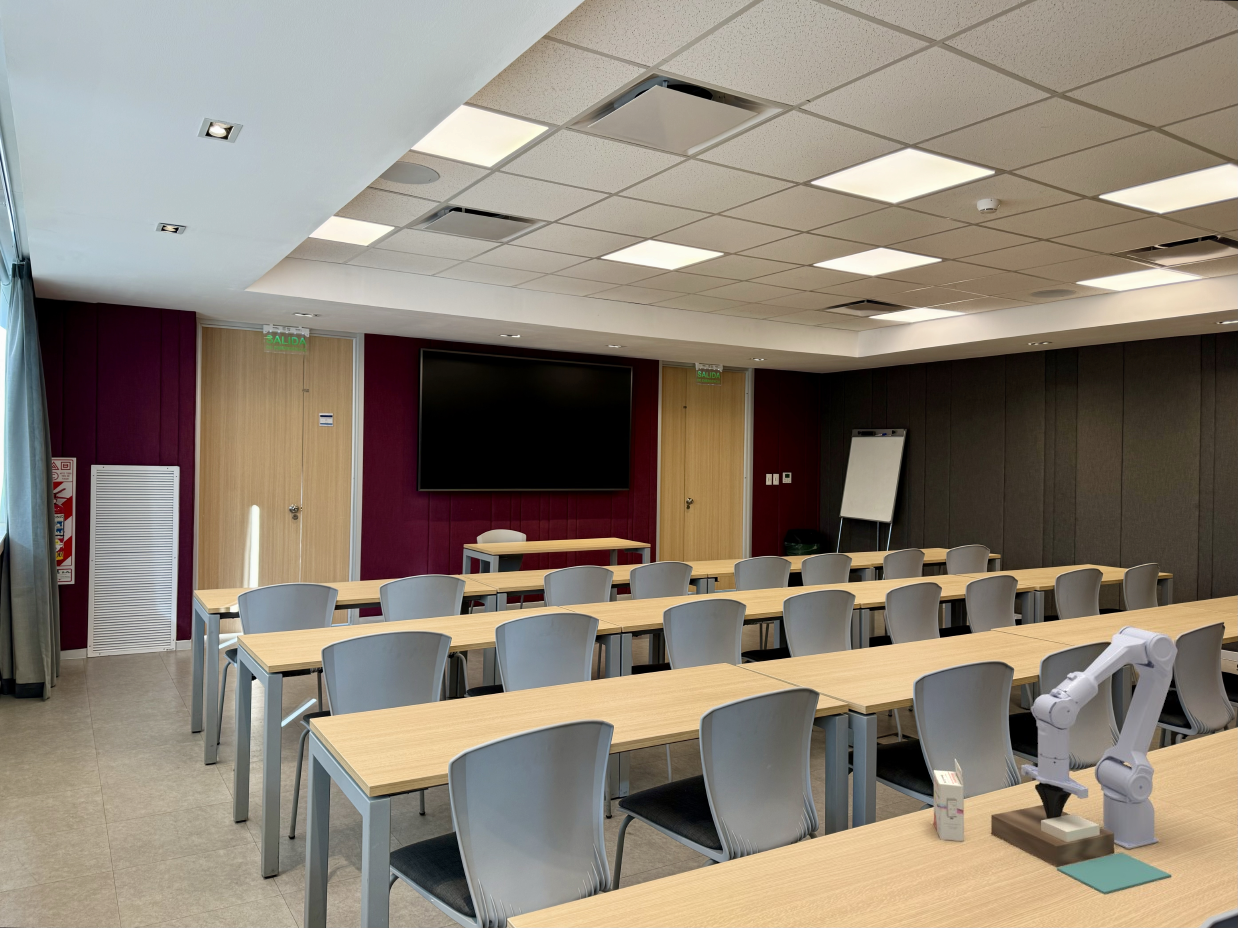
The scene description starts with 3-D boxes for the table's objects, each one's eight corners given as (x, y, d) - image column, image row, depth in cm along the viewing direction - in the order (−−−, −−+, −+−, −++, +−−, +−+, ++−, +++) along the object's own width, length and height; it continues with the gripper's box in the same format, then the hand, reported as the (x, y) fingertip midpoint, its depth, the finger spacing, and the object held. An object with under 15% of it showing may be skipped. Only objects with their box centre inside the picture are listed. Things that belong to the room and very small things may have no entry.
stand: (1046, 822, 182) (1046, 803, 182) (1114, 853, 168) (1114, 833, 168) (991, 833, 176) (991, 814, 176) (1056, 866, 162) (1056, 846, 162)
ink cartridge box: (932, 823, 182) (932, 755, 182) (956, 825, 181) (956, 757, 181) (939, 839, 173) (939, 768, 174) (964, 842, 172) (964, 770, 173)
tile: (1073, 823, 172) (1073, 813, 172) (1099, 834, 167) (1099, 824, 167) (1041, 830, 169) (1041, 820, 169) (1067, 842, 163) (1066, 831, 163)
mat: (1121, 854, 167) (1121, 852, 167) (1171, 876, 158) (1171, 874, 158) (1056, 869, 160) (1056, 867, 160) (1104, 894, 151) (1104, 891, 151)
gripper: (1010, 746, 177) (1010, 810, 177) (1070, 768, 163) (1070, 838, 163) (1035, 742, 180) (1035, 805, 179) (1095, 764, 166) (1095, 832, 166)
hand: (1053, 820), depth 172 cm, fingers closed
